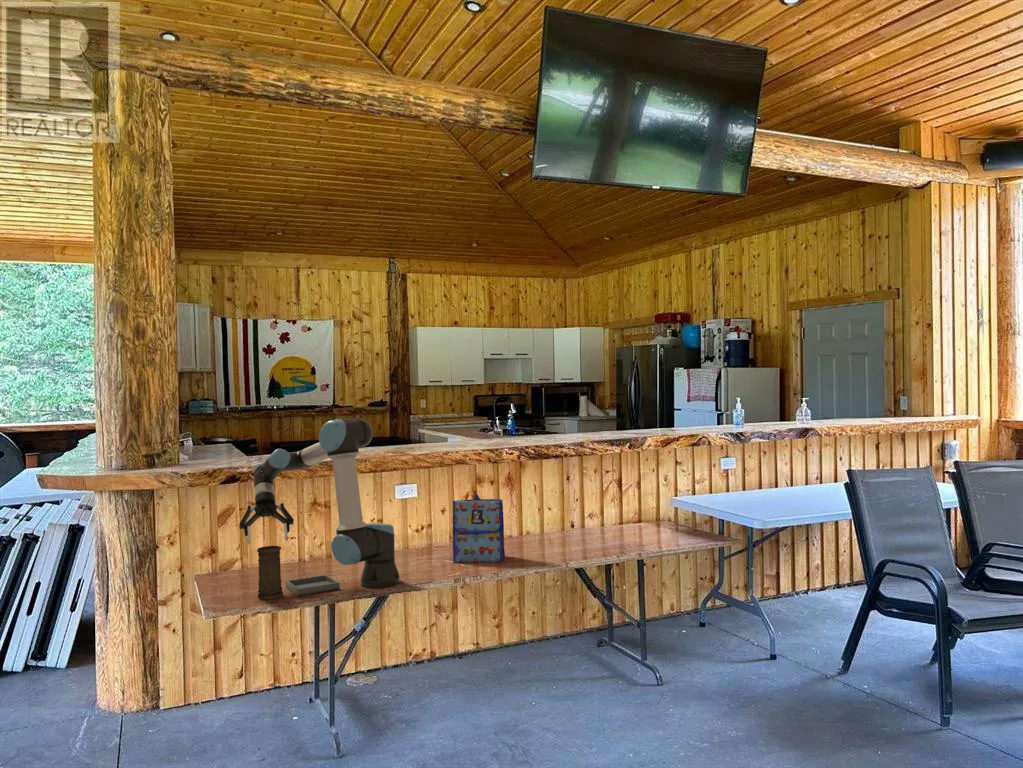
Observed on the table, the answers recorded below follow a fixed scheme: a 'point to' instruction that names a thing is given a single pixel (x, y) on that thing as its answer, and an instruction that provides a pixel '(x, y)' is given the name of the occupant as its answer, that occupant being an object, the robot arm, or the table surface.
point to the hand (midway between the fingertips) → (268, 540)
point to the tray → (312, 585)
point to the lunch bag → (478, 530)
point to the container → (269, 572)
